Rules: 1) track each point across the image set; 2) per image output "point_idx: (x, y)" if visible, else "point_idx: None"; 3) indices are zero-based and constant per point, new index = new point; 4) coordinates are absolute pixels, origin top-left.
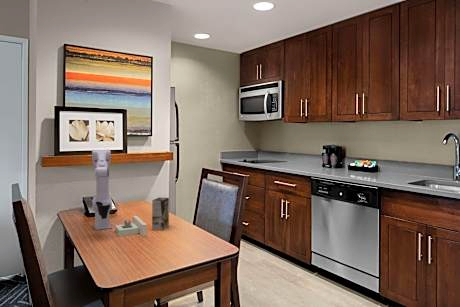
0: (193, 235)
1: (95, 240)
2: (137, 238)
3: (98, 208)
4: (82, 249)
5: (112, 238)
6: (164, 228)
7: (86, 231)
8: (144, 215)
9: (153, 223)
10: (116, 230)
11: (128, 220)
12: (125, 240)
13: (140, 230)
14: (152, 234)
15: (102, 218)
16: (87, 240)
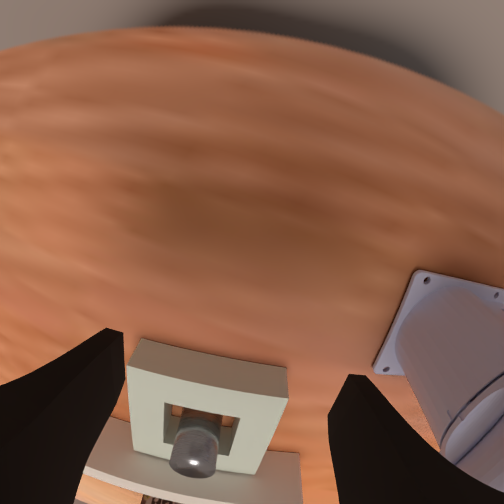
0: None
1: (137, 165)
2: None
3: (392, 458)
4: (25, 54)
5: (118, 287)
6: None
7: (440, 198)
8: None
9: (169, 501)
10: (234, 371)
11: (204, 474)
12: (51, 325)
13: (117, 437)
14: None
15: (99, 335)
16: (178, 109)
